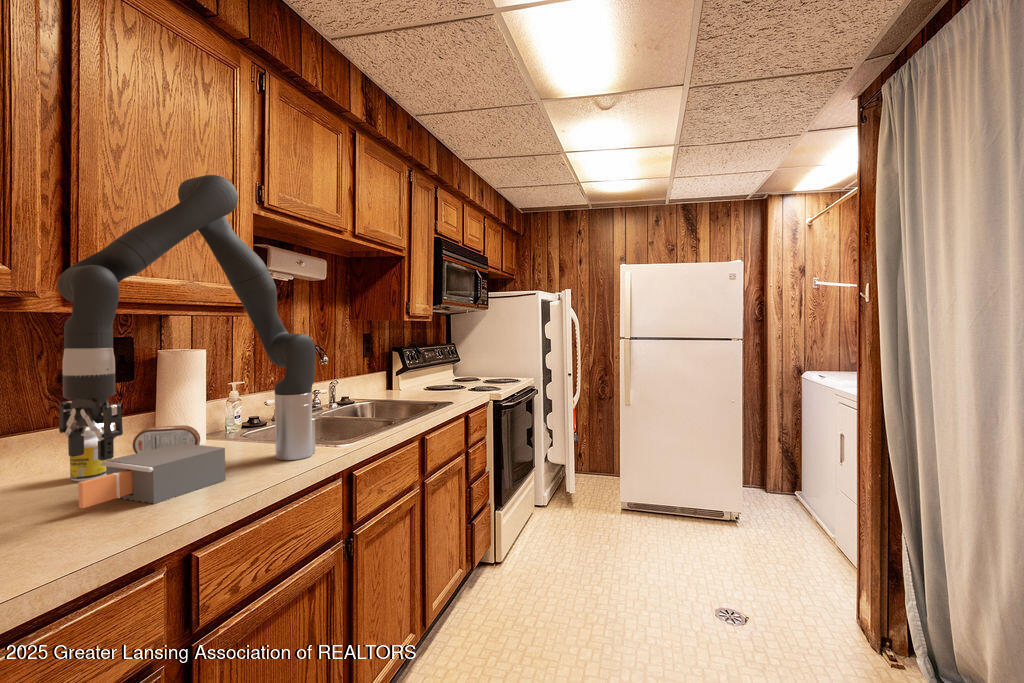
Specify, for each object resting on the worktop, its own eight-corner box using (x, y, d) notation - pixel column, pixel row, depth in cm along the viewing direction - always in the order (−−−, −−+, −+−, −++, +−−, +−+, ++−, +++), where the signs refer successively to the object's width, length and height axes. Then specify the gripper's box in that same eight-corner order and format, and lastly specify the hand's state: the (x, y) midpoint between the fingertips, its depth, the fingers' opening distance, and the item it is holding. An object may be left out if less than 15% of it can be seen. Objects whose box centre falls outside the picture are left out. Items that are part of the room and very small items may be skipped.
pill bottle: (65, 479, 113) (63, 429, 113) (99, 472, 119) (97, 424, 119) (78, 483, 110) (76, 432, 110) (112, 476, 116) (111, 427, 116)
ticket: (173, 479, 109) (173, 458, 109) (177, 479, 108) (177, 458, 108) (78, 507, 92) (78, 482, 92) (83, 508, 91) (82, 483, 91)
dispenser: (181, 474, 117) (180, 443, 117) (225, 480, 112) (224, 447, 112) (101, 497, 101) (100, 461, 101) (148, 505, 96) (147, 467, 96)
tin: (200, 453, 137) (200, 423, 137) (198, 456, 134) (197, 425, 134) (135, 458, 132) (134, 427, 131) (131, 461, 129) (130, 429, 129)
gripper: (136, 371, 94) (137, 456, 94) (87, 369, 99) (89, 450, 99) (91, 374, 87) (92, 466, 87) (41, 372, 92) (43, 459, 92)
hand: (90, 457), depth 93 cm, fingers open, 8 cm apart
